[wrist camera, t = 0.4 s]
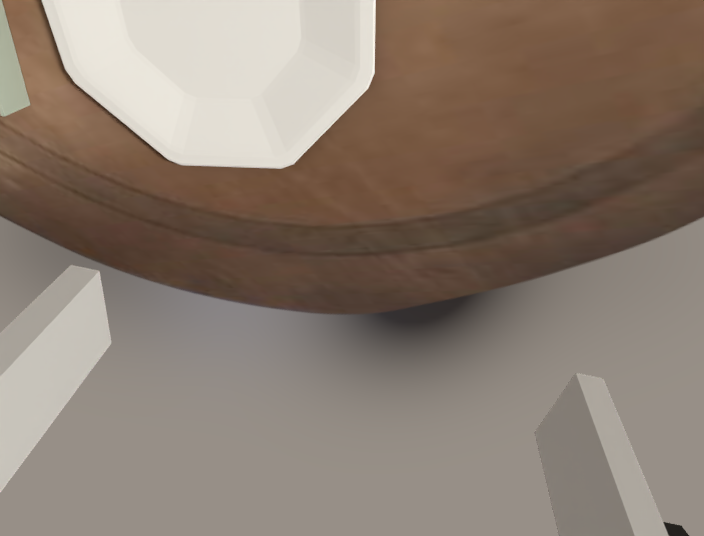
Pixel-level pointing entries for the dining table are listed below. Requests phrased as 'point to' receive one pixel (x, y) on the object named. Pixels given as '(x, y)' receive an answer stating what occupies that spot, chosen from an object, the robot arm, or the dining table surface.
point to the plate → (220, 71)
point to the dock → (10, 72)
